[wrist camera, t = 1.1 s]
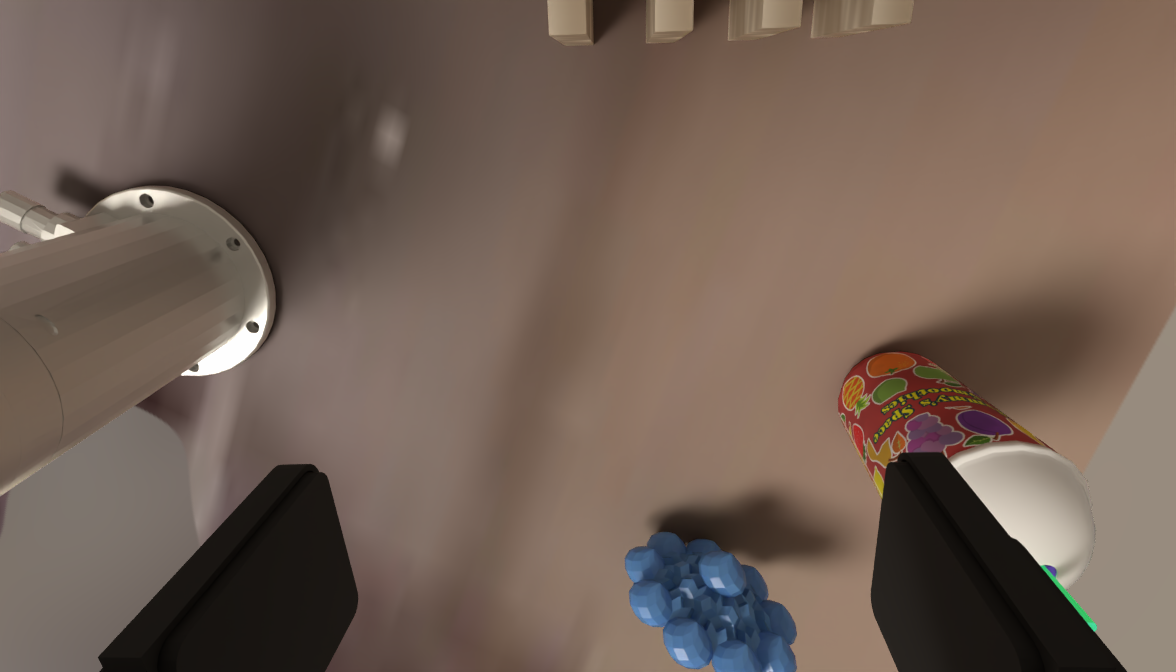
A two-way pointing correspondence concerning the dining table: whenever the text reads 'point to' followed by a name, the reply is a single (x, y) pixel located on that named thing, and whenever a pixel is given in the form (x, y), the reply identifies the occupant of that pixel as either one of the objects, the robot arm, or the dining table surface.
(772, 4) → the domino
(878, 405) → the smoothie
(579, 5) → the domino
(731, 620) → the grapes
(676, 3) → the domino
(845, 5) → the domino
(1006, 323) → the dining table surface
